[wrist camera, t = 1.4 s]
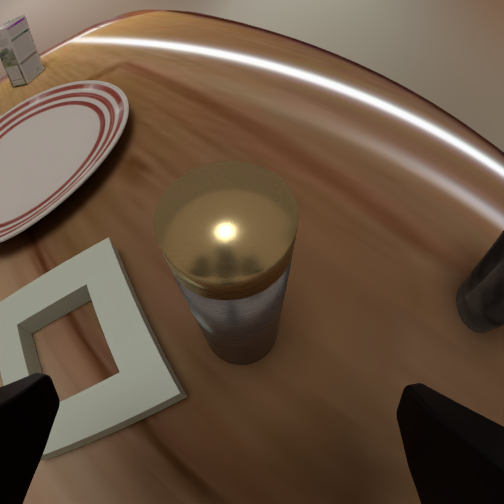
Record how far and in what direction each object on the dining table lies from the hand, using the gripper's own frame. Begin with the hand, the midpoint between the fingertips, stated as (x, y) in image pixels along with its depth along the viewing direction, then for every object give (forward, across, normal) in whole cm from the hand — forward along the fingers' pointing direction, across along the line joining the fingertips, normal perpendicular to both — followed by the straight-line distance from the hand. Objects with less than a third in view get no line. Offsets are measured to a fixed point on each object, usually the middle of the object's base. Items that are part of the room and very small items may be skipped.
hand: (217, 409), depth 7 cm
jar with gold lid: (+12, 0, +5) cm, 13 cm away
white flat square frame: (+11, +12, +6) cm, 17 cm away
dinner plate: (+26, +26, -8) cm, 37 cm away
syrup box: (+46, +44, -28) cm, 70 cm away
